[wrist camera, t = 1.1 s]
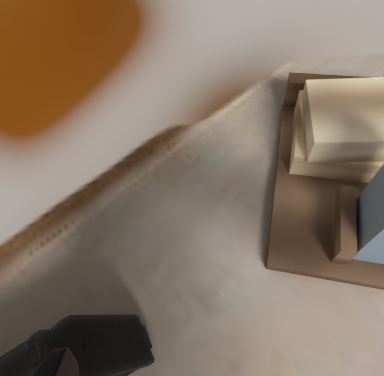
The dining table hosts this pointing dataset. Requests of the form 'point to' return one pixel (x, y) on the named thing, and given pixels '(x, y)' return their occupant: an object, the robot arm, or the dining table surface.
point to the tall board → (371, 221)
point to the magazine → (86, 346)
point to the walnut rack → (315, 214)
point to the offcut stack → (339, 129)
